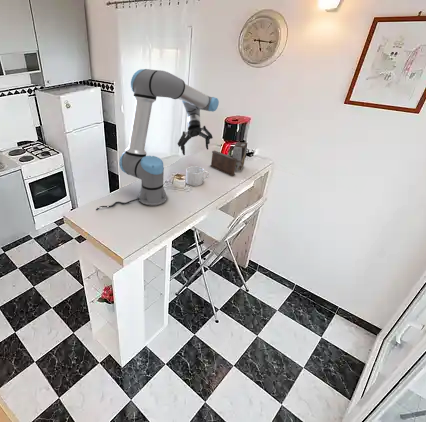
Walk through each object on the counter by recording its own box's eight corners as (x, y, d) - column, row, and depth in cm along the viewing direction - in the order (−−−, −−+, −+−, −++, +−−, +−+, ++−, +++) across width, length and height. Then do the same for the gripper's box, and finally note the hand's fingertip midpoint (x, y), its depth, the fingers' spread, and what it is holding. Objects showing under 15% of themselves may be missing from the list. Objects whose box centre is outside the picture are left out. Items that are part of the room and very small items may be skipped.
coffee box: (240, 172, 182) (244, 147, 174) (229, 170, 185) (233, 146, 177) (243, 166, 189) (248, 142, 180) (233, 164, 192) (237, 141, 183)
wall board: (210, 166, 192) (211, 151, 186) (213, 165, 193) (214, 150, 187) (231, 176, 178) (234, 160, 173) (235, 175, 180) (237, 159, 174)
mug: (183, 184, 173) (184, 172, 168) (187, 177, 181) (188, 165, 176) (206, 188, 168) (207, 175, 164) (209, 180, 176) (210, 167, 172)
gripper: (216, 122, 174) (218, 149, 164) (176, 133, 185) (176, 159, 174) (213, 113, 168) (216, 141, 158) (172, 125, 179) (172, 152, 169)
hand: (195, 151), depth 166 cm, fingers open, 13 cm apart
